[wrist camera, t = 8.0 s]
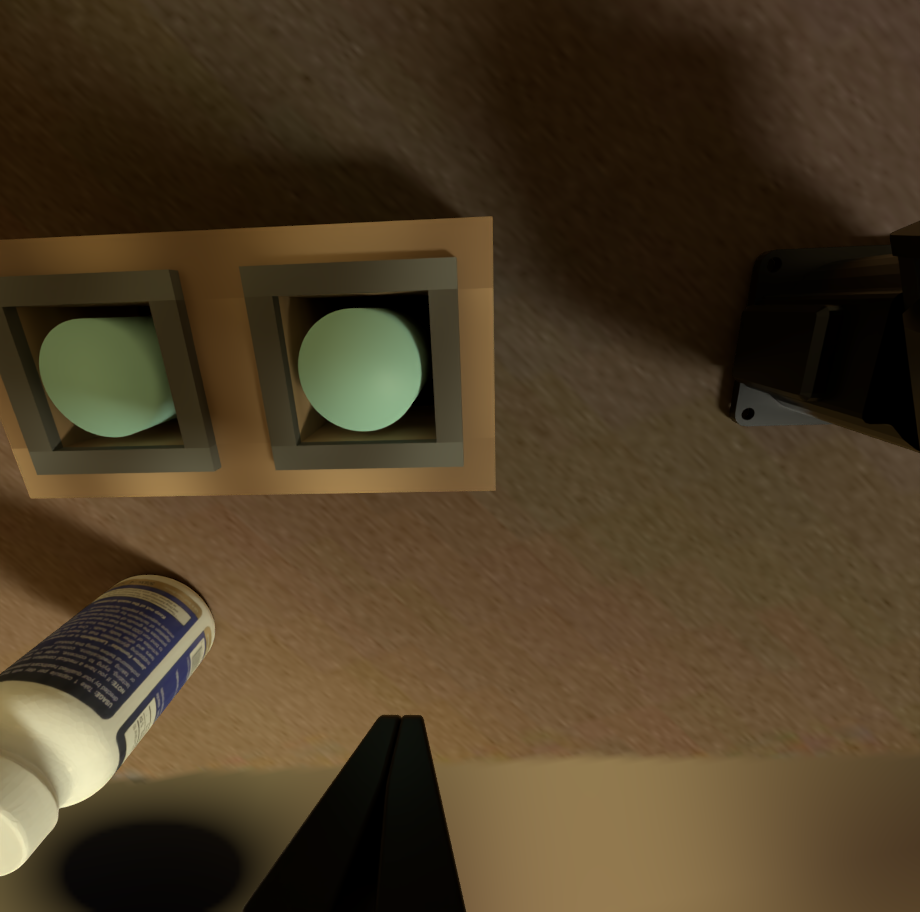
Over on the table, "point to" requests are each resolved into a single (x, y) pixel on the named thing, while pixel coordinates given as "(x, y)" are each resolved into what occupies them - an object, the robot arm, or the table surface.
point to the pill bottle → (91, 701)
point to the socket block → (252, 358)
